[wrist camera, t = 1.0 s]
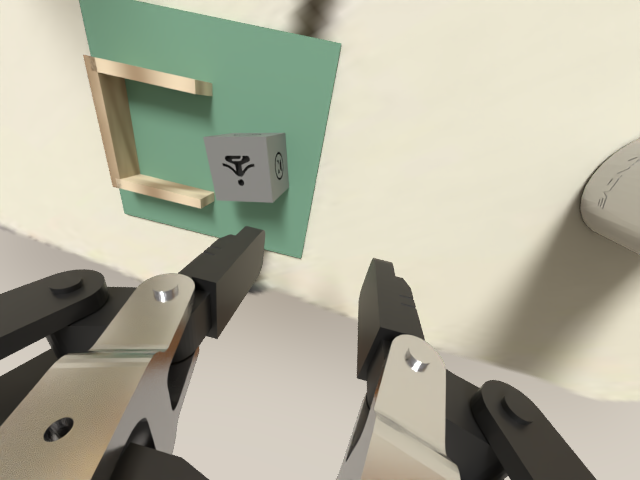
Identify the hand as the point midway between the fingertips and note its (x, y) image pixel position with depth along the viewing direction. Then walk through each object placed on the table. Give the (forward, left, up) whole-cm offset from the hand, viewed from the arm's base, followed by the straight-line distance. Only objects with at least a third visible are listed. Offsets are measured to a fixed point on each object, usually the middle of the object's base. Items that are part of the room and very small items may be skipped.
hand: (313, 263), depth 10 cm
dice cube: (+8, 0, -15) cm, 17 cm away
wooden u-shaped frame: (+17, 0, -15) cm, 23 cm away
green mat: (+13, 0, -15) cm, 20 cm away
